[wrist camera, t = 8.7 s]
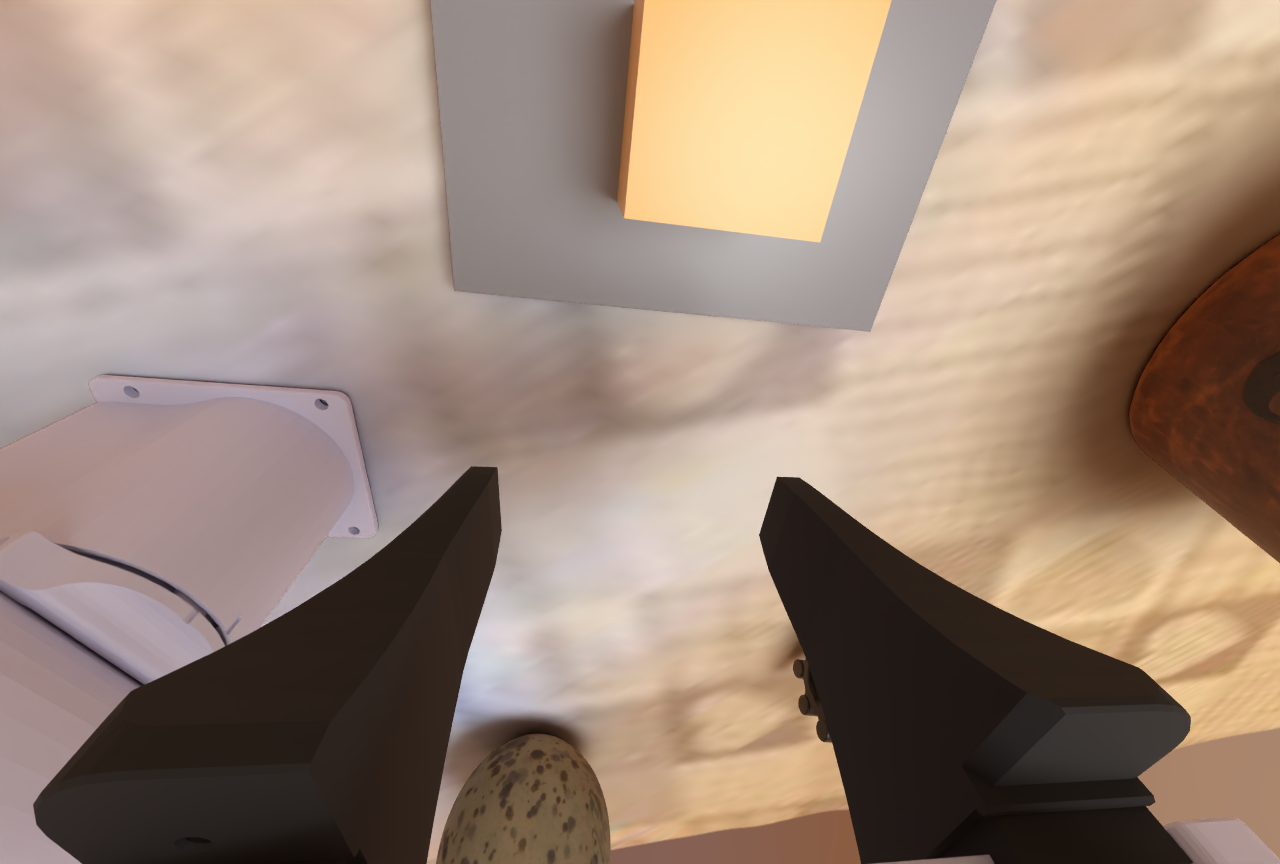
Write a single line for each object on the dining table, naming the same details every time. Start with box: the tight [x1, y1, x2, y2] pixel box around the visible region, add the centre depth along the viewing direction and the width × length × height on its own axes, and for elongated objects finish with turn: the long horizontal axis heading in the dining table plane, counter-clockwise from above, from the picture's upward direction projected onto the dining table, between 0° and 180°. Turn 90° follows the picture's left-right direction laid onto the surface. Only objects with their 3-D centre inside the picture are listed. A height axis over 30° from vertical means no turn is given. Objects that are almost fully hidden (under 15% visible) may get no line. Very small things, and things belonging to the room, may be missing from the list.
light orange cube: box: [617, 0, 892, 242], centre depth 12 cm, size 5×5×5 cm
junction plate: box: [430, 0, 996, 332], centre depth 13 cm, size 16×12×5 cm
